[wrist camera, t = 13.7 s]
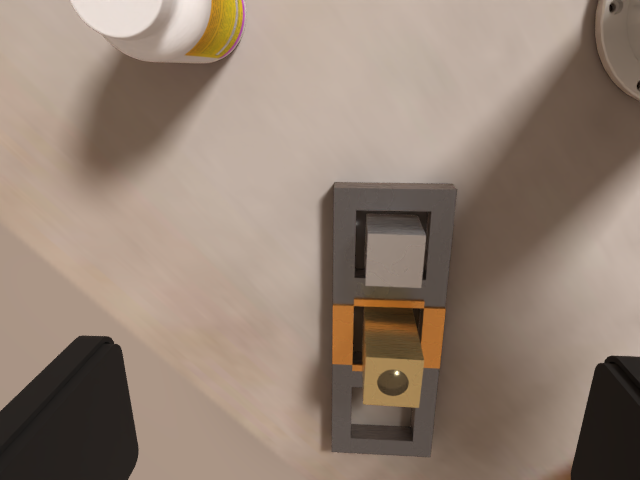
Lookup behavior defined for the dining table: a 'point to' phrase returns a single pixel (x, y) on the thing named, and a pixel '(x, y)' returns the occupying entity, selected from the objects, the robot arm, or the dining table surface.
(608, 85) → the dining table surface
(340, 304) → the rail
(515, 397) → the dining table surface
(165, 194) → the dining table surface
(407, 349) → the brass nut
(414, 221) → the block
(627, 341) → the dining table surface
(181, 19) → the supplement bottle
